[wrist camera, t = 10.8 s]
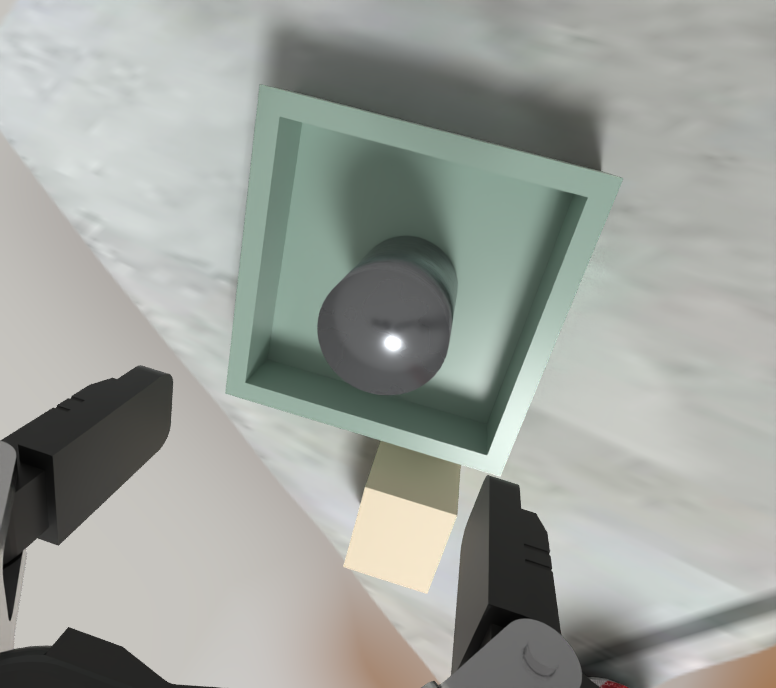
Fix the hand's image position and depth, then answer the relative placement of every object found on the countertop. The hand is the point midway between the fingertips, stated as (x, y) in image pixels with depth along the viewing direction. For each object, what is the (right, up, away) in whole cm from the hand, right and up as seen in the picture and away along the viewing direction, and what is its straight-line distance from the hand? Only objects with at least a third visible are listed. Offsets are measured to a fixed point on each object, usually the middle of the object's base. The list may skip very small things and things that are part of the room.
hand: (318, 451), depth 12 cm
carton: (+3, -6, +20) cm, 21 cm away
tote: (+3, +6, +14) cm, 16 cm away
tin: (+3, +6, +14) cm, 15 cm away
